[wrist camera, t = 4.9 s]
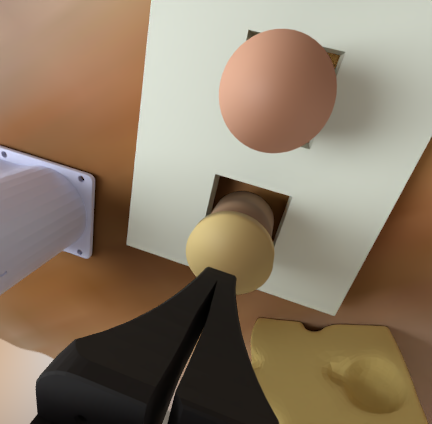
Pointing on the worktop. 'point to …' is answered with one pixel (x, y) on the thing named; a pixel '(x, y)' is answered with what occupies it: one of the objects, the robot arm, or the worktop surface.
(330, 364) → the cheese
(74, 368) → the robot arm
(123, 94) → the worktop surface
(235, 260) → the plug brass
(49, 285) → the worktop surface
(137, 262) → the worktop surface
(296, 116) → the plug terracotta
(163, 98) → the socket board
